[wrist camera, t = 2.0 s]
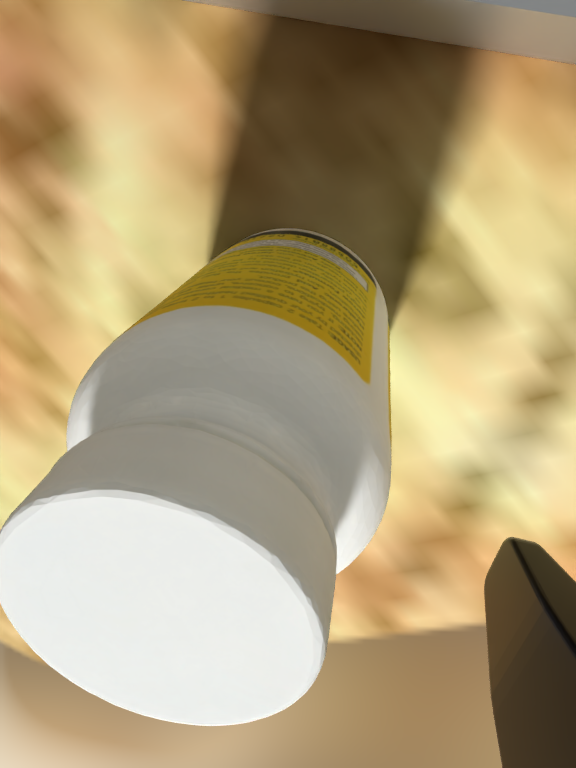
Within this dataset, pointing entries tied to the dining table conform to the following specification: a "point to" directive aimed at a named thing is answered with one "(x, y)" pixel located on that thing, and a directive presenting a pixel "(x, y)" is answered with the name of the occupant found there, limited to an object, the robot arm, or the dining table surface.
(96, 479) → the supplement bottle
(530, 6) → the socket block
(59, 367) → the dining table surface
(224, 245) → the dining table surface
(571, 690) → the robot arm
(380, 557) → the dining table surface
